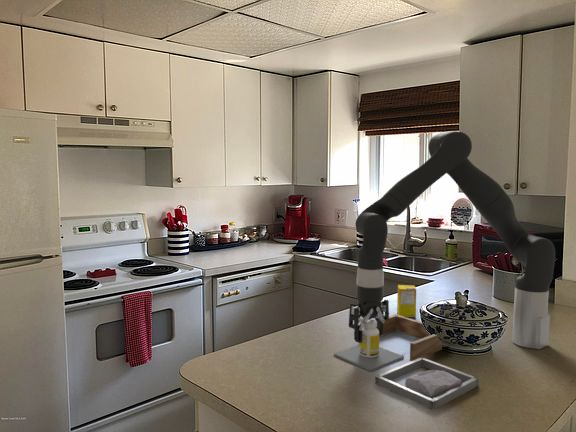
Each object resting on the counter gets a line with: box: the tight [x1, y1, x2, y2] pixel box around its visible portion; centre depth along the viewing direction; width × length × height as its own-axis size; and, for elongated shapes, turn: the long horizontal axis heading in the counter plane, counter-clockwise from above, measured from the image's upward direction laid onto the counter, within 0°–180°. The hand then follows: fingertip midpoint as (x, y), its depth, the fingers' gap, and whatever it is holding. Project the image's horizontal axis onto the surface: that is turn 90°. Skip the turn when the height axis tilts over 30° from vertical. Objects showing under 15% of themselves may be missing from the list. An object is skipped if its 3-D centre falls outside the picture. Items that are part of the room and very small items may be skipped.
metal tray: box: [374, 357, 479, 411], centre depth 124 cm, size 17×19×2 cm
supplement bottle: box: [359, 319, 380, 358], centre depth 141 cm, size 5×5×10 cm
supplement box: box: [396, 284, 417, 320], centre depth 177 cm, size 6×6×11 cm
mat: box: [333, 344, 405, 373], centre depth 142 cm, size 14×14×1 cm
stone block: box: [404, 369, 463, 399], centre depth 122 cm, size 12×5×10 cm
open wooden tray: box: [382, 313, 443, 362], centre depth 151 cm, size 20×17×5 cm
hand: (368, 338), depth 141 cm, fingers open, 8 cm apart
